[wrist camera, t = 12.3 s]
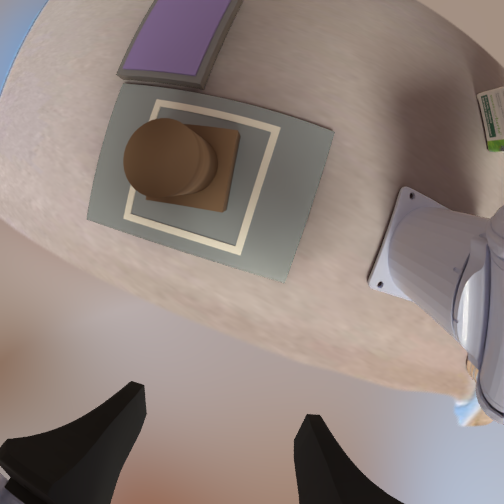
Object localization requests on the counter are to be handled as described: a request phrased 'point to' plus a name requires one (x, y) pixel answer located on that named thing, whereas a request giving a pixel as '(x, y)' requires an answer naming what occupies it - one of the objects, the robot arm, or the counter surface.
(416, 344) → the counter surface
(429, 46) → the counter surface
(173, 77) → the ink pad
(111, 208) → the board
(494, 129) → the syrup box
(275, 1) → the counter surface
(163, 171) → the stamp
